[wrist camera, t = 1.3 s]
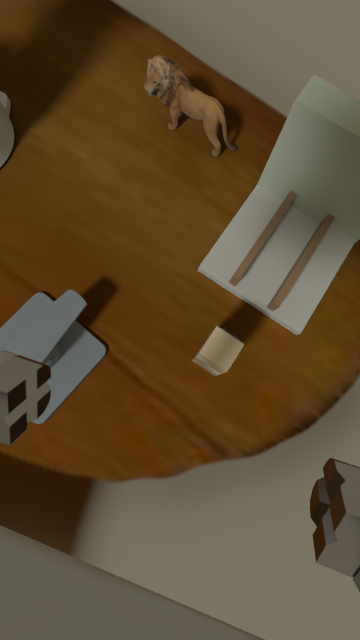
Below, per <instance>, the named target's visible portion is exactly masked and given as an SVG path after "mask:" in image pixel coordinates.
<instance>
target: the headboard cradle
mask: <svg viewBox="0 0 360 640" xmlns="http://www.w3.org/2000/svg"><path fill="white" fill-rule="evenodd" d="M358 240H360V101H359V100H358V99H356V98H354V97H352V96H351V95H349V94H347V93H345V92H343V91H342V90H340V89H338V88H337V87H335V86H333V85H331V84H330V83H328V82H326V81H324V80H322V79H321V78H319V77H318V76H316V75H313V77H312V78H311V80H310V81H309V82H308V83H307V85H306V86H305V88H304V89H303V90H302V92H301V93H300V94H299V96H298V97H297V98H296V100H295V103H294V104H293V107H292V109H291V111H290V113H289V116H288V118H287V120H286V122H285V124H284V127H283V129H282V131H281V133H280V135H279V138H278V140H277V142H276V144H275V147H274V149H273V151H272V153H271V155H270V158H269V160H268V162H267V164H266V167H265V169H264V171H263V173H262V175H261V178H260V180H259V182H258V184H257V186H256V187H255V189H254V190H253V191H252V193H251V194H250V196H249V197H248V198H247V200H246V201H245V203H244V204H243V206H242V207H241V208H240V210H239V211H238V213H237V214H236V215H235V217H234V218H233V220H232V221H231V222H230V224H229V225H228V227H227V228H226V229H225V231H224V232H223V234H222V235H221V236H220V238H219V239H218V241H217V242H216V243H215V245H214V246H213V248H212V249H211V251H210V252H209V253H208V255H207V256H206V258H205V259H204V260H203V262H202V263H201V265H200V266H199V268H198V271H199V272H201V273H202V274H204V275H205V276H207V277H208V278H210V279H211V280H213V281H214V282H216V283H218V284H219V285H221V286H222V287H224V288H225V289H227V290H228V291H230V292H231V293H233V294H234V295H236V296H237V297H239V298H241V299H242V300H244V301H245V302H247V303H248V304H250V305H251V306H253V307H254V308H256V309H257V310H259V311H260V312H262V313H264V314H265V315H267V316H268V317H270V318H271V319H273V320H274V321H276V322H277V323H279V324H280V325H282V326H283V327H285V328H286V329H288V330H290V331H291V332H293V333H294V334H296V335H298V334H300V333H301V332H302V330H303V328H304V327H305V325H306V323H307V322H308V320H309V318H310V317H311V315H312V313H313V312H314V310H315V308H316V307H317V305H318V303H319V302H320V300H321V298H322V297H323V295H324V293H325V292H326V290H327V288H328V286H329V285H330V283H331V281H332V280H333V278H334V276H335V275H336V273H337V271H338V270H339V268H340V266H341V265H342V263H343V261H344V260H345V258H346V256H347V255H348V253H349V251H350V250H351V248H352V246H353V245H354V244H355V243H356V242H357V241H358Z"/></svg>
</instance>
